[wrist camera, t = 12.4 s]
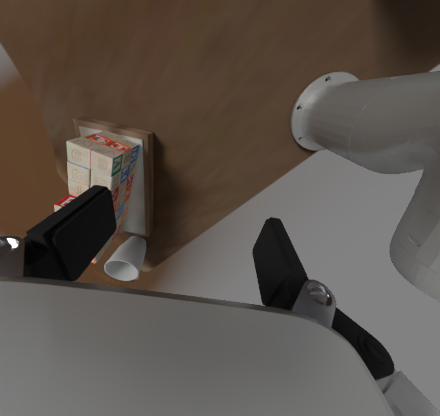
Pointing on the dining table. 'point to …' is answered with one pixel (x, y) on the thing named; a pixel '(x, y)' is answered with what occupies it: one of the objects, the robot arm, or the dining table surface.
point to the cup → (127, 259)
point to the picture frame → (143, 176)
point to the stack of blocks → (102, 171)
